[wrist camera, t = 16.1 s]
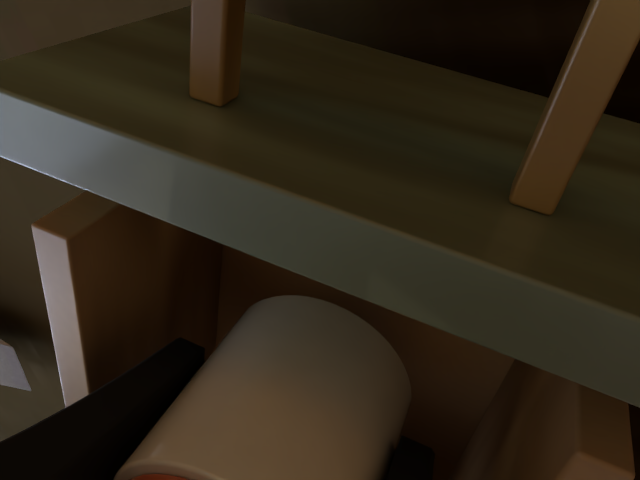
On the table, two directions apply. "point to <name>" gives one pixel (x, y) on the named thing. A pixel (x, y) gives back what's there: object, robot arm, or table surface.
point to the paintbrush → (11, 368)
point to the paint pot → (283, 402)
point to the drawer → (351, 219)
